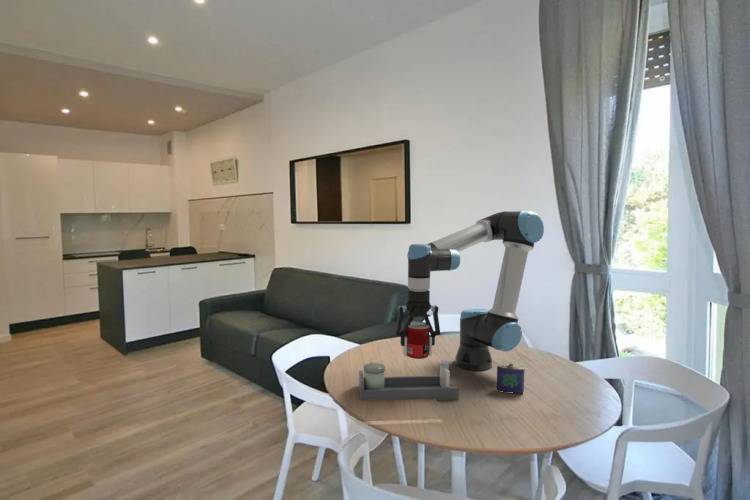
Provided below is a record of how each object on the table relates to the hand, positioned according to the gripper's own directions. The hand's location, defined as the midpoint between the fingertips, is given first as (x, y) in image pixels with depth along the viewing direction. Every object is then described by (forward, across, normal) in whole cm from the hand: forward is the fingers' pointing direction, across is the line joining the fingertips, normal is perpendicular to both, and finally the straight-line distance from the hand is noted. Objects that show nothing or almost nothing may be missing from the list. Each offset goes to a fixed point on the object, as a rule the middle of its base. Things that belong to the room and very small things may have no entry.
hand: (417, 354), depth 147 cm
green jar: (+13, +15, 0) cm, 20 cm away
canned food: (0, 0, 0) cm, 0 cm away
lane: (+14, +3, 0) cm, 14 cm away
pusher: (+13, -10, 0) cm, 16 cm away
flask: (+14, -33, +1) cm, 36 cm away
